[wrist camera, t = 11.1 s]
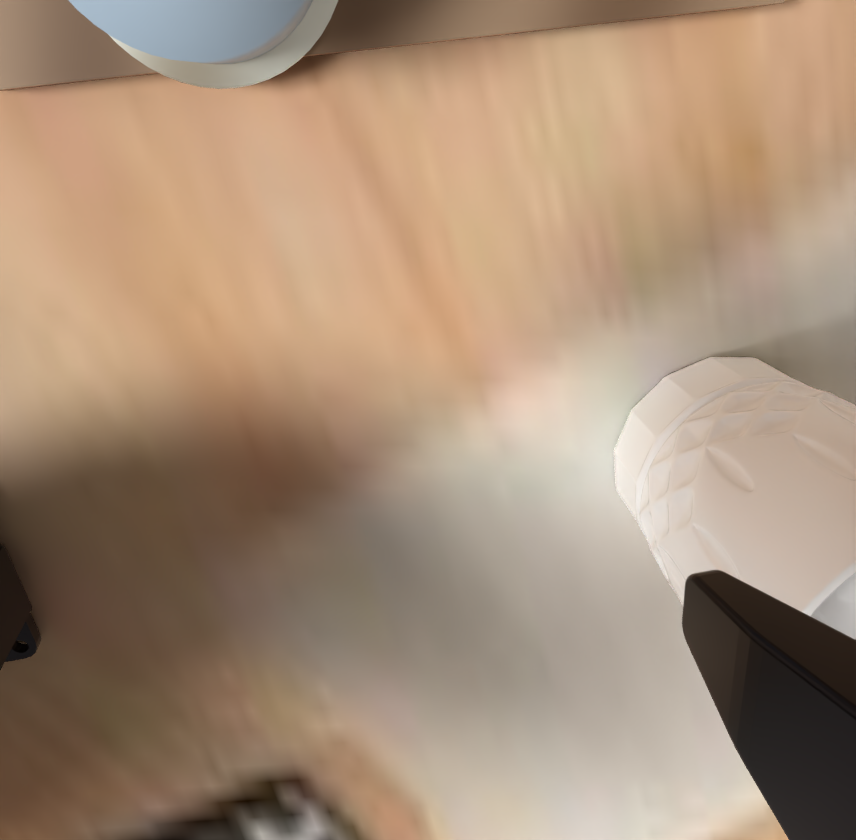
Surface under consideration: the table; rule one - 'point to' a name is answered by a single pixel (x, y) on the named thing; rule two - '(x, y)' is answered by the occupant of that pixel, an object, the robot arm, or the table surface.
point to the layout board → (297, 35)
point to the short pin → (197, 26)
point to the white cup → (747, 483)
